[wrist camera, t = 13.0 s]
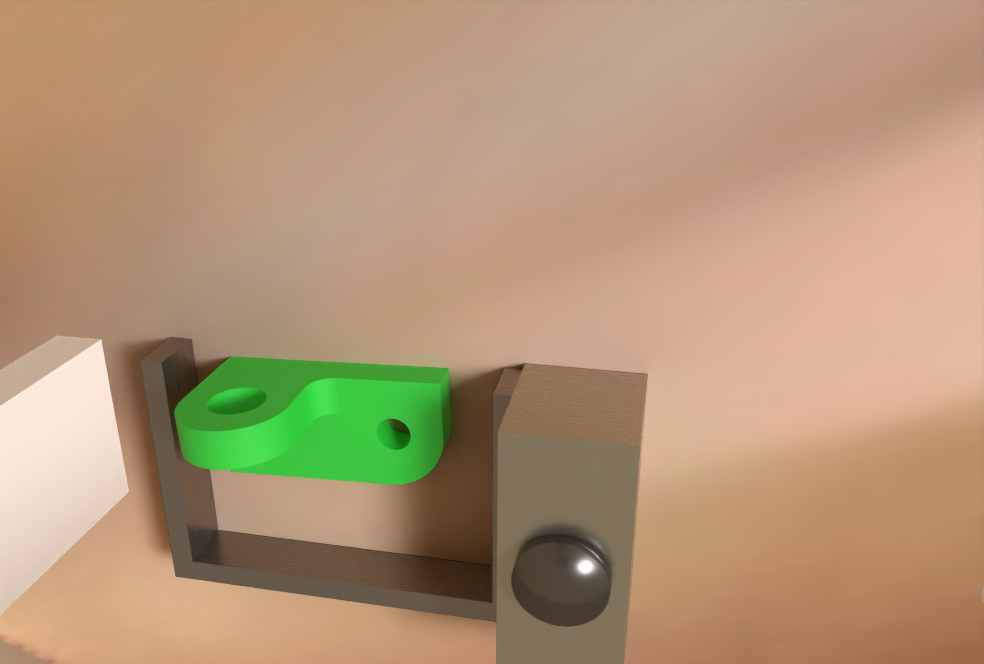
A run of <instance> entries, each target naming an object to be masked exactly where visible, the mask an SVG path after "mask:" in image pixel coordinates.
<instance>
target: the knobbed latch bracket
mask: <svg viewBox="0 0 984 664" xmlns="http://www.w3.org/2000/svg"><path fill="white" fill-rule="evenodd" d="M140 364H141V370H142V376H143V382H144V389H145V395H146V401H147V407H148V413H149V419H150V425H151V431H152V437H153V443H154V449H155V455H156V461H157V467H158V473H159V479H160V485H161V491H162V497H163V503H164V509H165V515H166V521H167V527H168V533H169V539H170V545H171V551H172V558H173V564H174V570H175V576H176V577H183V578H190V579H197V580H204V581H211V582H218V583H225V584H232V585H240V586H247V587H254V588H261V589H268V590H275V591H282V592H289V593H296V594H303V595H310V596H317V597H324V598H331V599H338V600H346V601H353V602H360V603H367V604H374V605H381V606H388V607H395V608H402V609H409V610H416V611H423V612H430V613H437V614H444V615H452V616H459V617H466V618H473V619H480V620H487V621H494V622H497V633H496V664H624V659H625V648H626V637H627V626H628V615H629V603H630V591H631V578H632V565H633V553H634V540H635V527H636V515H637V502H638V489H639V477H640V464H641V451H642V439H643V426H644V413H645V401H646V388H647V375H648V374H639V373H628V372H617V371H605V370H594V369H582V368H571V367H560V366H548V365H537V364H526V363H525V365H524V367H523V369H520V368H509V367H505V368H504V371H503V373H502V375H501V378H500V380H499V382H498V384H497V387H496V389H495V391H494V393H493V566H489V565H481V564H474V563H466V562H458V561H451V560H443V559H435V558H428V557H420V556H412V555H404V554H397V553H389V552H381V551H374V550H366V549H358V548H351V547H343V546H335V545H328V544H320V543H312V542H305V541H297V540H289V539H281V538H274V537H266V536H258V535H251V534H243V533H235V532H228V531H220V530H218V526H217V519H216V512H215V504H214V497H213V490H212V483H211V476H210V469H205V468H201V467H198V466H195V465H193V464H191V463H189V462H188V461H187V460H186V459H185V458H184V457H183V455H182V451H181V446H180V441H179V436H178V431H177V425H176V420H175V415H174V411H175V408H176V406H177V405H178V403H179V402H180V401H181V400H182V399H183V398H184V397H185V396H187V395H188V394H189V393H190V392H191V391H192V390H193V389H194V388H196V387H197V386H198V383H197V375H196V368H195V361H194V354H193V347H192V340H191V339H183V338H169V339H168V340H167V341H165V342H164V343H163V344H161V345H160V346H159V347H157V348H156V349H155V350H153V351H152V352H151V353H149V354H148V355H147V356H145V357H144V358H143V359H141V360H140Z"/></svg>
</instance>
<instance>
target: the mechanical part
mask: <svg viewBox="0 0 984 664" xmlns="http://www.w3.org/2000/svg"><path fill="white" fill-rule="evenodd" d="M174 415H175V420H176V425H177V431H178V436H179V441H180V446H181V451H182V455H183V457H184V458H185V459H186V460H187V461H188V462H189V463H191V464H193V465H195V466H198V467H201V468H205V469H212V470H230V469H231V472H243V473H255V474H268V475H280V476H292V477H305V478H317V479H330V480H342V481H355V482H367V483H380V484H394V485H398V484H407V483H411V482H414V481H417V480H419V479H421V478H423V477H424V476H426V475H427V474H428V473H429V472H430V471H431V470H432V469H433V468H434V467H435V466H436V464H437V463H438V461H439V459H440V457H441V455H442V453H443V451H444V449H445V447H446V444H447V442H448V440H449V438H450V434H451V428H452V416H451V400H450V383H449V368H433V367H414V366H396V365H377V364H358V363H339V362H321V361H302V360H283V359H264V358H246V357H229V358H228V359H227V360H226V361H225V362H224V363H222V364H221V365H220V366H219V367H218V368H217V369H216V370H215V371H213V372H212V373H211V374H210V375H209V376H208V377H207V378H206V379H204V380H203V381H202V382H201V383H200V384H199V385H198V386H197V387H196V388H194V389H193V390H192V391H191V392H190V393H189V394H188V395H187V396H185V397H184V398H183V399H182V400H181V401H180V402H179V403H178V405H177V406H176V408H175V411H174ZM388 419H397V420H399V421H401V422H403V423H404V424H405V425H406V426H407V427H408V429H409V431H410V432H409V433H403V432H400V431H397V430H396V429H394V428H393V427H392V426H391V425H390V423H389V421H388Z"/></svg>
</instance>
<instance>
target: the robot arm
mask: <svg viewBox="0 0 984 664" xmlns="http://www.w3.org/2000/svg"><path fill="white" fill-rule="evenodd" d="M128 492H129V490H128V485H127V479H126V474H125V468H124V463H123V457H122V452H121V446H120V441H119V435H118V430H117V424H116V419H115V413H114V408H113V402H112V397H111V391H110V386H109V380H108V375H107V369H106V364H105V359H104V353H103V348H102V342H101V339H90V338H79V337H68V336H55V337H53V338H52V339H50V340H48V341H47V342H45V343H43V344H42V345H40V346H39V347H37V348H35V349H34V350H32V351H30V352H29V353H27V354H25V355H24V356H22V357H20V358H19V359H17V360H15V361H14V362H12V363H10V364H9V365H7V366H6V367H4V368H2V369H1V370H0V615H1V614H2V613H3V612H4V611H5V610H6V609H7V608H8V607H10V606H11V605H12V604H13V603H14V602H15V601H16V600H17V599H18V598H19V597H20V596H21V595H22V594H23V593H24V592H25V591H26V590H27V589H28V588H29V587H30V586H31V585H32V584H33V583H34V582H35V581H37V580H38V579H39V578H40V577H41V576H42V575H43V574H44V573H45V572H46V571H47V570H48V569H49V568H50V567H51V566H52V565H53V564H54V563H55V562H56V561H57V560H58V559H59V558H60V557H61V556H62V555H64V554H65V553H66V552H67V551H68V550H69V549H70V548H71V547H72V546H73V545H74V544H75V543H76V542H77V541H78V540H79V539H80V538H81V537H82V536H83V535H84V534H85V533H86V532H87V531H88V530H89V529H90V528H92V527H93V526H94V525H95V524H96V523H97V522H98V521H99V520H100V519H101V518H102V517H103V516H104V515H105V514H106V513H107V512H108V511H109V510H110V509H111V508H112V507H113V506H114V505H115V504H116V503H117V502H119V501H120V500H121V499H122V498H123V497H124V496H125V495H126V494H127V493H128ZM981 599H982V602H983V604H984V586H983V590H982V594H981Z"/></svg>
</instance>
